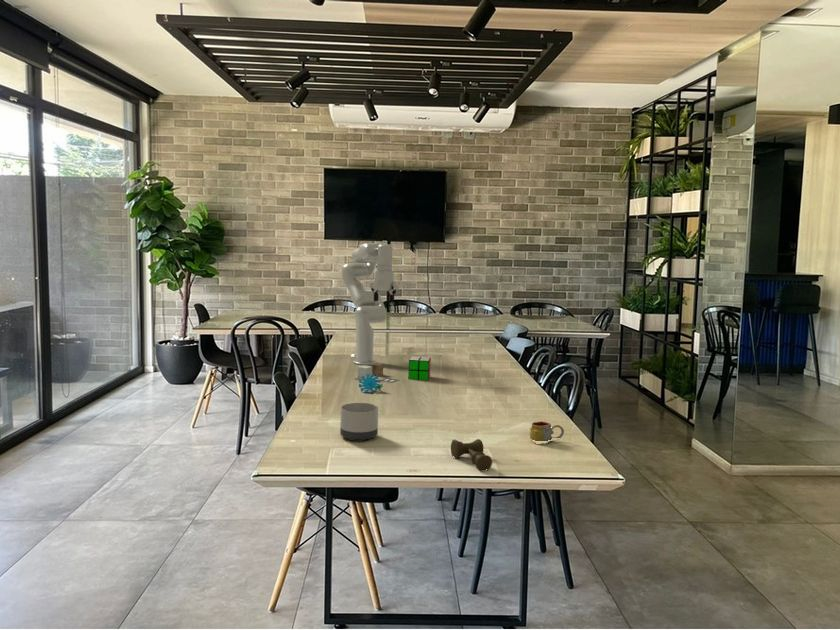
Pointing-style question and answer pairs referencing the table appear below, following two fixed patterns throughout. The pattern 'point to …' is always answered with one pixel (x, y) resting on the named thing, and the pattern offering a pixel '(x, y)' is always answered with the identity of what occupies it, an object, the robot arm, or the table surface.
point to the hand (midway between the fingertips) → (383, 301)
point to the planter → (359, 421)
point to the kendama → (472, 453)
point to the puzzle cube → (419, 368)
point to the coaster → (389, 380)
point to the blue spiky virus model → (370, 383)
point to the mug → (543, 431)
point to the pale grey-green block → (364, 371)
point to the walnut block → (377, 369)
